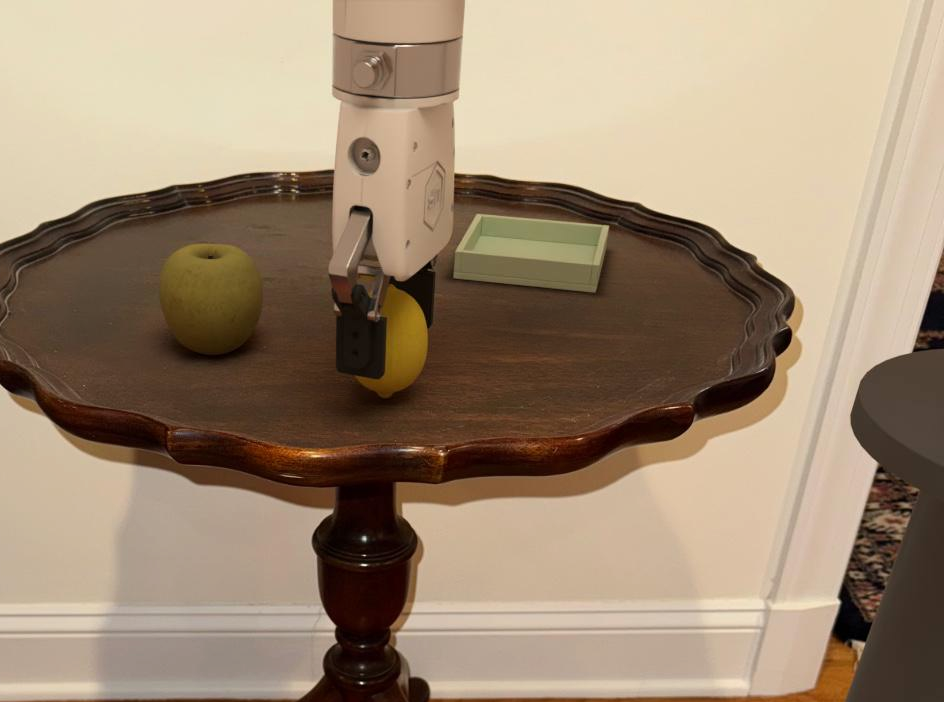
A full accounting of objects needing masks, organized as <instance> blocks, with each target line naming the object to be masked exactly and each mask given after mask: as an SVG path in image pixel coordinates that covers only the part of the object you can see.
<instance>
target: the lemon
mask: <svg viewBox="0 0 944 702" xmlns="http://www.w3.org/2000/svg"><path fill="white" fill-rule="evenodd" d="M367 293H368V295H369V296H370V297H371V293H372V290H371V291H370V292H367ZM381 317H386V318H387V331H386V359H385V374H384V375H383V376H382V377H381V378H380V379H378V380H377V379H371V378H366V377H360V376H355V375H353V376H354V378H355V379H356V380H357V381H358V382H359V383H360V384H361V385H362V386H363V387H365V388H366V389H368V390H370V391H372V392H375V393H376V394H377V395H378V397H380V398H382V399H388V398H390V397H391V396H392V395H394V394H395V393H397V392H400V391H402V390H405V389H406V388H407V387H409V386H410V385H411V384H413V383H414V382H415V381H416V380H417V378H418V377H419V376H420V374H421V373H422V370H423V369H424V366H425V364H426V359H427V355H428V348H429V347H428V346H429V345H428V344H429V335H428V334H429V333H428V329H427V325H426V320H425V317H424V314H423V311H422V309H421V308H420V306H419V304H418V303H417V302H416V300H415V299H414V298H412V297H411V296H410V295H409V294H407V293H406V292H404V291H402V290H399V289H396V288H395V286H394V285H392V284H389V285H388V289H387V293H386V297H385V301H384V305H383V309H382V313H381Z"/></svg>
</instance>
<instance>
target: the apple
mask: <svg viewBox="0 0 944 702" xmlns="http://www.w3.org/2000/svg"><path fill="white" fill-rule="evenodd" d="M158 297H159V298H158V299H159V305H160V307H161V311H162V314H163V317H164V319H165V322H166V324H167V326H168V328H169V330H170V332H171V333H172V335H173V337H174V339H176V340H177V342H178V343H180V344H181V345H182V346H183V347H184V348H186V349H188V350H190V351H192V352H194V353H197V354H198V353H199V354H201V355H206V356H221V355H225V354H228V353H231V352H234V351H235V350H237V349H238V348H239V347H241V346H243V344H244V343H246V341H247V340H248V339H249V338H250V336H251V335H252V334H253V332H254V331H255V329H256V328H257V326H258V324H259V321H260V318H261V315H262V310H263V305H264V284H263V279H262V275H261V272H260V270H259V268H258V266H257V265H256V262H255V261H254V259H253V258H252V257H251V256H250V255H249V254H248V253H246V252H245V251H244V250H243V249H241V248H239V247H236V246H234V245H231V244H223V243H222V244H221V243H193V244H189V245H186V246H183V247H181V248H178V249H177V250H175V251H174V252H173V253H172V254H171V255H170V256H169V257H168V258H167V260H166V261H165V263H164V265H163V267H162V269H161V272H160V275H159V281H158Z"/></svg>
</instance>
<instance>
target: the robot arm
mask: <svg viewBox="0 0 944 702" xmlns="http://www.w3.org/2000/svg"><path fill="white" fill-rule="evenodd" d="M465 9H466V0H332V35H331V36H332V38H331V39H332V41H331V42H332V44H331V45H332V46H331V47H332V48H331V49H332V50H331V52H332V53H331V54H332V55H331V65H332V67H331V71H332V72H331V85H332V86H331V95H332V97H333V98H335V99H336V100H338V101H340V105H339V114H338V122H337V134H336V142H335V143H336V144H335V155H334V156H335V157H334V169H333V185H332V186H333V187H332V212H331V216H332V217H331V239H332V240H331V241H332V243H331V244H332V257H331V259H330V261H329V263H328V268H327V273H328V278H329V280H330V283H331V284H330V285H331V290H330V291H331V292H330V293H331V296H332V300H333V303H334V305H333V313H334V315H335V317H336V318H335V319H336V320H335V321H336V322H335V325H336V326H335V327H336V328H335V332H336V333H335V368H336V371H337V372H339V373H340V374H346V375H349V376H350V375H351V376H354V375H355V376H360V377H366V378H371V379H377V380H378V379H380V378H381V377H382V376H383V375H384V374H385V359H386V331H387V318H386V317H381V313H382V309H383V305H384V301H385V297H386V293H387V289H388V285H389V284H392V285H394V286H395V288H396V289H399V290H402V291H404V292H406V293H407V294H409V295H410V296H411V297H412V298H414V299H415V300H416V302H417V303H418V304H419V306H420V308H421V309H422V311H423V314H424V317H425V320H426V325H427V330H428V329H430V328H431V327H432V326H433V323H434V310H435V309H434V307H435V294H436V293H435V292H436V277H437V275H436V274H437V271H435V269H436V268H437V264H438V258H439V255H438V254H439V253H440V252H441V251H442V250H443V249H444V248H445V247H446V246H447V245H448V244H449V242H450V240H451V238H452V235H453V227H454V206H455V205H454V204H455V203H454V201H455V161H456V160H455V159H456V156H455V155H456V154H455V153H456V132H455V131H456V129H455V107H454V102H455V101H457V100H459V97H460V86H461V74H462V73H461V71H462V57H463V42H464V36H463V35H464V24H465ZM364 260H365V261H373V262H378V263H379V265H380V266H374V265H368V264H362V262H363V261H364ZM359 280H364V281H365V280H366V281H371V282H373V285H372V290H371V291H372V293H371V297H370V296H369V295H368V293H369V292H368V291H367V289H366V287H365V286H364V285H363V284H360V283H359ZM355 376H354V377H355Z"/></svg>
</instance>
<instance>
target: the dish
mask: <svg viewBox="0 0 944 702" xmlns="http://www.w3.org/2000/svg"><path fill="white" fill-rule="evenodd" d="M609 231H610V225H606V224H603V225H602V224H597V223H595V224H594V223H583V222H573V221H562V220H550V219H540V218H531V217H530V218H529V217H519V216H518V217H517V216H506V215H497V214H496V215H494V214H484V213H483V214H482V213H476V214H475V216H474V218H473V220H472V222H471V223H470V225H469V226H468V228H467V230H466V232H465V234H464V235H463V237H462V239H461V241H460V242H459V244H458V246H457V247H456V249H455V251H454V263H453V275H452V276H453V279H456V280H463V281H464V280H466V281H475V282H485V283H495V284H505V285H514V286H524V287H533V288H543V289H554V290H564V291H574V292H582V293H583V292H584V293H594V294H596V293H597V290H598V289H597V288H598V284H599V280H600V276H601V272H602V268H603V264H604V260H605V257H606V256H605V255H606V251H607V245H608V237H609Z"/></svg>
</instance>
